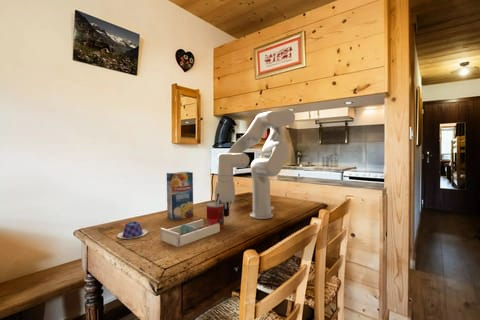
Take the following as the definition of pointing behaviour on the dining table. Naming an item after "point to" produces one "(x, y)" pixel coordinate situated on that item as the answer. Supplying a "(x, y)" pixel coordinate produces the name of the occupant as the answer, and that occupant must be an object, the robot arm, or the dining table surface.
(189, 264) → the dining table surface
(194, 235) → the white shallow tray
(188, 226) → the pusher
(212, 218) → the canned food
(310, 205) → the dining table surface
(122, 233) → the blue checkered hat
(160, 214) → the dining table surface
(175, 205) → the blue food box
